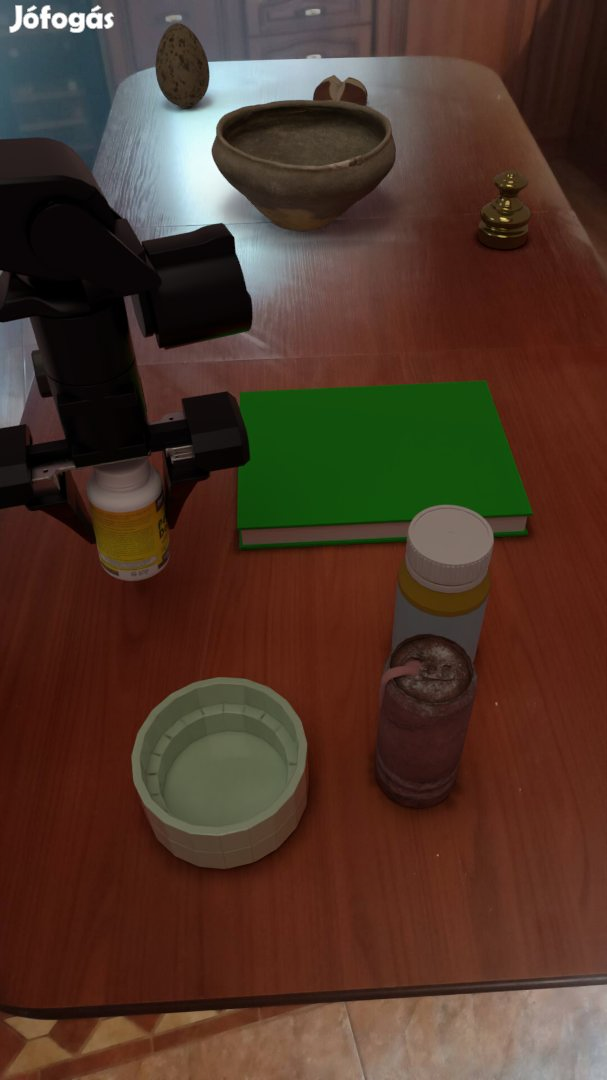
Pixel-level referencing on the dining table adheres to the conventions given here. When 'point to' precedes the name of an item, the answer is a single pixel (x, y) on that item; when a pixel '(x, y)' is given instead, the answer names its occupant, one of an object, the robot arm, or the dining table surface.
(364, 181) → the bowl
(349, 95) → the bread
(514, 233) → the brass turned ornament
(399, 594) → the bottle
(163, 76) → the decorative egg
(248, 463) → the book
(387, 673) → the can
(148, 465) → the supplement bottle
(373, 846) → the dining table surface
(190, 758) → the ceramic bowl
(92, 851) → the dining table surface
